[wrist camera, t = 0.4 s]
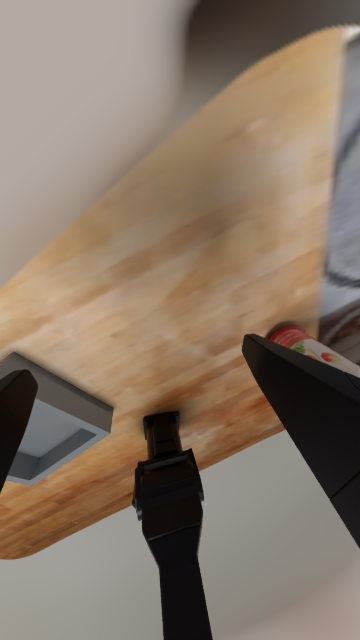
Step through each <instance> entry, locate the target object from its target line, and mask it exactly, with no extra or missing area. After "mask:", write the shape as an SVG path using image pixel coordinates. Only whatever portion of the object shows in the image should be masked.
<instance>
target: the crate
mask: <svg viewBox="0 0 360 640" xmlns="http://www.w3.org/2000/svg"><path fill="white" fill-rule="evenodd" d="M20 369H28V370H30V371H31V373H32V375H33V376H34V378H35V379H36V381H37V383H38V391H37V395H36V398H35V402H34V405H33V408H32V412H31V415H30V419H29V422H28V425H27V428H26V431H25V434H24V436H23V439H22V441H21V444H20V446H19V449H18V451H17V454H16V456H15V458H14V461H13V463H12V466H11V468H10V471H9V473H8V476H7V478H6V480H7V481H12V482H16V483H21V484H25V485H30V486H33V485H35V484H36V483H38V482H39V481H41V480H42V479H43V478H45V477H46V476H48V475H49V474H51V473H52V472H54V471H55V470H57V469H58V468H60V467H61V466H63V465H64V464H66V463H67V462H69V461H70V460H72V459H73V458H75V457H76V456H78V455H79V454H81V453H82V452H83V451H85V450H86V449H88V448H89V447H91V446H92V445H94V444H95V443H97V442H98V441H100V440H101V439H103V438H104V437H106V436H107V435H109V434H110V432H111V424H112V416H113V408H111V407H110V406H108V405H106V404H104V403H103V402H101V401H99V400H97V399H95V398H94V397H92V396H90V395H88V394H87V393H85V392H83V391H81V390H80V389H78V388H76V387H74V386H73V385H71V384H69V383H67V382H65V381H64V380H62V379H60V378H58V377H57V376H55V375H53V374H51V373H50V372H48V371H46V370H44V369H42V368H41V367H39V366H37V365H35V364H34V363H32V362H30V361H28V360H27V359H25V358H23V357H21V356H19V355H18V354H16V353H14V352H13V353H12V354H10V355H9V356H8V357H7V358H6V359H4V360H3V361H2V362H1V363H0V379H2V378H3V377H5V376H6V375H8V374H9V373H11V372H13V371H15V370H20Z"/></svg>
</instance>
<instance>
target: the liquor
mask: <svg viewBox="0 0 360 640" xmlns="http://www.w3.org/2000/svg"><path fill="white" fill-rule="evenodd" d="M269 340H271V341H273V342H275V343H278V344H280V345H283V346H285V347H287V348H290V349H292V350H295V351H297V352H299V353H302V354H304V355H307V356H309V357H311V358H314V359H316V360H319V361H321V362H323V363H326V364H328V365H331V366H333V367H335V368H338V369H340V370H342V371H343V372H347V373H350V374H352V375H355V376H357V377H359V378H360V366H359V365H357V364H355V363H354V362H352V361H350V360H349V359H347V358H345V357H344V356H342V355H340V354H339V353H337V352H335V351H334V350H332V349H330V348H328V347H327V346H325V345H324V344H322V343H320V342H319V341H317V340H315V339H314V338H312V337H311V336H309V335H307V334H306V333H305V330H304V329H303V328H302V327H301V326H298V325H291V326H287V327H284V328H282V329H279V330H277V331H276V332H274V333H273V334H272V335H271V337H270V338H269Z"/></svg>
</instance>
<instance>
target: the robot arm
mask: <svg viewBox="0 0 360 640" xmlns="http://www.w3.org/2000/svg"><path fill="white" fill-rule="evenodd" d="M242 353H243V355H244V357H245V359H246V362H247V364H248V366H249V368H250V370H251V372H252V374H253V376H254V378H255V380H256V382H257V383H258V385H259V387H260V388H261V390H262V392H263V393H264V395H265V396H266V398H267V400H268V401H269V403H270V405H271V406H272V408H273V409H274V411H275V413H276V414H277V416H278V417H279V419H280V421H281V422H282V424H283V425H284V427H285V429H286V430H287V432H288V433H289V435H290V437H291V438H292V440H293V442H294V443H295V445H296V446H297V448H298V449H299V451H300V453H301V454H302V456H303V458H304V459H305V461H306V462H307V464H308V466H309V467H310V469H311V471H312V472H313V474H314V475H315V477H316V479H317V480H318V482H319V483H320V485H321V486H322V488H323V490H324V491H325V493H326V495H327V496H328V498H329V499H330V501H331V503H332V505H333V506H334V508H335V509H336V511H337V513H338V514H339V516H340V518H341V519H342V521H343V522H344V524H345V526H346V527H347V529H348V530H349V532H350V534H351V535H352V537H353V538H354V540H355V542H356V543H357V545H358V546H359V548H360V378H359V377H357V376H355V375H352V374H350V373H347V372H343V371H342V370H340V369H338V368H335V367H333V366H331V365H328V364H326V363H323V362H321V361H319V360H316V359H314V358H311V357H309V356H307V355H304V354H302V353H299V352H297V351H295V350H292V349H290V348H287V347H285V346H283V345H280V344H278V343H275V342H273V341H271V340H268V339H266V338H263V337H261V336H259V335H256V334H246V335H245V336H244V339H243V345H242ZM37 391H38V383H37V381H36V379H35V378H34V376H33V375H32V373H31V371H30V370H28V369H20V370H15V371H13V372H11V373H9V374H8V375H6V376H5V377H3V378H2V379H0V493H1V490H2V488H3V486H4V483H5V481H6V478H7V476H8V473H9V471H10V468H11V466H12V463H13V461H14V458H15V456H16V454H17V451H18V449H19V446H20V444H21V441H22V439H23V436H24V434H25V431H26V428H27V425H28V422H29V419H30V415H31V412H32V408H33V405H34V402H35V398H36V395H37ZM179 419H180V414H179V412H178V411H176V412H170V413H164V414H159V415H153V416H147V417H144V418H143V423H144V433H145V440H147V451H148V460H146V461H142V462H141V461H140V462H138V467H137V468H136V469H135V485H134V492H133V500H132V505H133V507H134V508H135V509H136V513H137V516H138V520H139V521H141V520H142V532H143V535H144V537H145V540H146V542H147V544H148V547H149V549H150V551H151V553H152V555H153V557H154V559H155V561H156V564H157V566H158V568H159V574H160V589H161V605H162V621H163V636H164V640H213V639H212V633H211V628H210V622H209V617H208V611H207V606H206V600H205V595H204V589H203V585H202V578H201V573H200V568H199V562H198V550H199V543H200V537H201V531H202V518H203V509H202V505H201V502H202V501H204V494H203V488H202V483H201V478H200V474H199V471H198V468H197V464H196V461H195V458H194V454H193V451H192V448H190V449H188V450H185V451H183V450H182V445H181V440H180V435H179Z"/></svg>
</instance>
